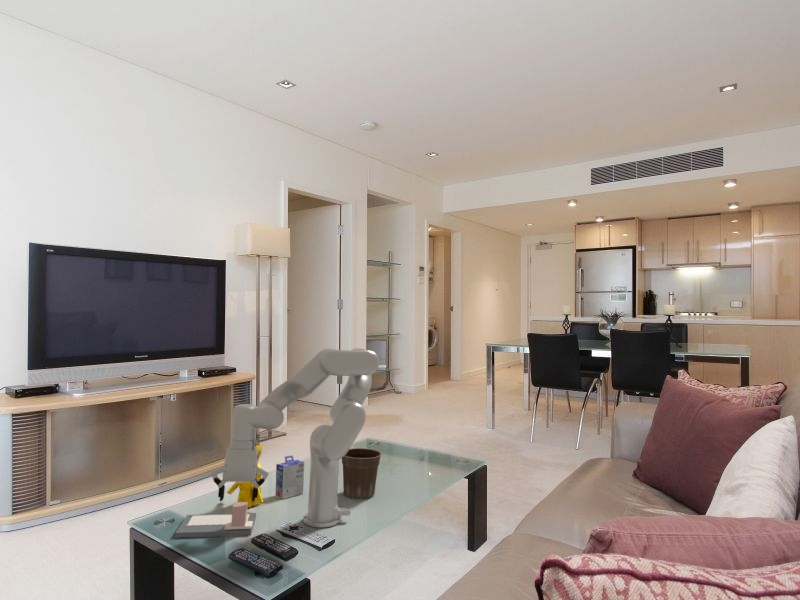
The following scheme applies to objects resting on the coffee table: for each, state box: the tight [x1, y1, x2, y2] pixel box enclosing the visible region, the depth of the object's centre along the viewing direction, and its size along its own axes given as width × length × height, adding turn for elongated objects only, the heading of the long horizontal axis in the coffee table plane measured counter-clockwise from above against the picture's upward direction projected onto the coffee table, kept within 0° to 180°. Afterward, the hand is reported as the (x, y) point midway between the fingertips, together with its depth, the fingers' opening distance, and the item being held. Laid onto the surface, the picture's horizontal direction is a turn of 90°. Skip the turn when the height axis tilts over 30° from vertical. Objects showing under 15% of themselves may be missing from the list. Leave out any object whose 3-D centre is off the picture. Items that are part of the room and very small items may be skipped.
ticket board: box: [174, 512, 257, 539], centre depth 156 cm, size 22×14×2 cm, turn 100°
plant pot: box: [341, 447, 382, 500], centre depth 192 cm, size 16×16×16 cm
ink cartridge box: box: [275, 455, 305, 500], centre depth 189 cm, size 10×6×14 cm, turn 137°
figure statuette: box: [226, 442, 264, 509], centre depth 177 cm, size 18×8×22 cm, turn 60°
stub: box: [224, 501, 253, 530], centre depth 153 cm, size 8×4×7 cm, turn 100°
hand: (237, 499), depth 153 cm, fingers open, 9 cm apart
